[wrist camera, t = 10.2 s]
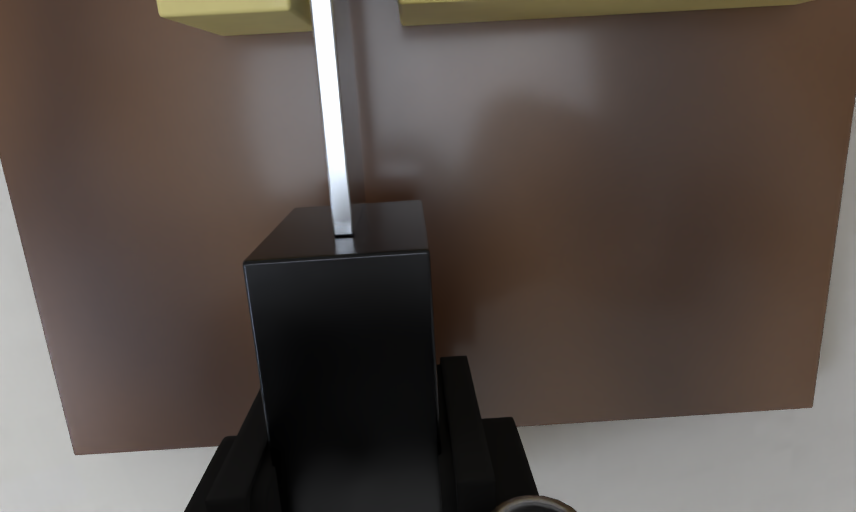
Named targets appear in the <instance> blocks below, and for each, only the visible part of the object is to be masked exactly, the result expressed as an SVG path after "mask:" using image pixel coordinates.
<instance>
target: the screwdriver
mask: <svg viewBox="0 0 856 512" xmlns="http://www.w3.org/2000/svg"><path fill="white" fill-rule="evenodd" d="M309 4H310V14H311V24H312V33H313V43H314V53H315V62H316V72H317V82H318V92H319V101H320V111H321V121H322V130H323V140H324V150H325V159H326V169H327V179H328V189H329V198H330V206H314V207H298V208H294V209H293V210H292V211H291V212H290V213H289V214H288V215H287V216H286V217H285V218H284V219H283V220H282V221H281V222H280V223H279V224H278V226H277V227H276V228H275V229H274V230H273V231H272V232H271V233H270V234H269V235H268V236H267V237H266V238H265V239H264V240H263V241H262V242H261V243H260V244H259V245H258V246H257V247H256V249H255V250H254V251H253V252H252V253H251V254H250V255H249V256H248V257H247V258H246V259H245V260H244V261H243V263H242V267H243V273H244V280H245V287H246V293H247V300H248V307H249V314H250V320H251V327H252V334H253V340H254V347H255V354H256V361H257V367H258V374H259V381H260V387H261V394H262V401H263V407H264V414H265V421H266V428H267V434H268V441H269V448H270V454H271V461H272V466H275V469H276V476H277V483H278V489H279V496H280V503H281V510H282V512H441V496H440V479H439V461H438V455H440V454H441V453H442V452H441V435H440V417H439V400H438V382H437V364H436V347H435V329H434V312H433V294H432V276H431V259H430V248H429V242H428V235H427V229H426V222H425V215H424V209H423V203H422V201H421V200H411V201H395V202H379V203H365V202H366V199H365V187H364V175H363V164H362V152H361V141H360V129H359V117H358V106H357V94H356V82H355V71H354V59H353V47H352V36H351V24H350V13H349V1H348V0H309Z"/></svg>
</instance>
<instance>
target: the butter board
mask: <svg viewBox="0 0 856 512" xmlns="http://www.w3.org/2000/svg"><path fill="white" fill-rule="evenodd" d="M348 1H349V13H350V24H351V36H352V47H353V59H354V71H355V82H356V94H357V106H358V117H359V129H360V141H361V152H362V164H363V175H364V187H365V199H366V202H365V203H379V202H395V201H411V200H421V201H422V203H423V209H424V215H425V222H426V229H427V235H428V242H429V248H430V259H431V276H432V294H433V312H434V329H435V347H436V364H440V357H450V356H465V355H467V358H468V363H469V367H470V371H471V376H472V380H473V384H474V389H475V393H476V397H477V402H478V406H479V410H480V415H481V419H484V418H499V417H513V419H514V421H515V424H516V427H521V426H536V425H552V424H567V423H583V422H598V421H614V420H629V419H645V418H660V417H676V416H691V415H707V414H722V413H738V412H753V411H769V410H784V409H800V408H812V407H813V400H814V393H815V386H816V379H817V371H818V364H819V357H820V350H821V342H822V335H823V328H824V321H825V313H826V306H827V299H828V292H829V285H830V277H831V270H832V263H833V256H834V248H835V241H836V234H837V227H838V219H839V212H840V205H841V198H842V190H843V183H844V176H845V169H846V161H847V154H848V147H849V140H850V133H851V125H852V118H853V111H854V104H855V96H856V0H813V1H809V2H804V3H800V4H796V5H779V6H761V7H743V8H725V9H706V10H688V11H670V12H652V13H633V14H615V15H597V16H579V17H561V18H542V19H524V20H506V21H488V22H469V23H451V24H433V25H415V26H403V25H402V24H401V22H400V15H399V8H398V0H348ZM0 159H1V163H2V167H3V171H4V175H5V179H6V183H7V187H8V191H9V195H10V199H11V203H12V207H13V211H14V215H15V219H16V223H17V227H18V231H19V235H20V239H21V243H22V247H23V251H24V255H25V259H26V263H27V267H28V271H29V275H30V279H31V283H32V287H33V291H34V295H35V299H36V303H37V307H38V311H39V315H40V319H41V323H42V327H43V331H44V335H45V339H46V343H47V347H48V351H49V355H50V359H51V363H52V367H53V371H54V375H55V379H56V383H57V387H58V391H59V395H60V399H61V403H62V407H63V411H64V415H65V419H66V423H67V427H68V431H69V435H70V439H71V443H72V447H73V451H74V454H75V455H87V454H102V453H118V452H133V451H149V450H164V449H180V448H195V447H211V446H219V445H220V443H221V441H222V440H223V439H224V437H227V436H236V435H237V434H238V432H239V430H240V428H241V426H242V424H243V422H244V420H245V418H246V416H247V414H248V412H249V410H250V408H251V406H252V404H253V402H254V400H255V398H256V396H257V394H258V392H259V390H260V381H259V374H258V367H257V361H256V354H255V347H254V340H253V334H252V327H251V320H250V314H249V307H248V300H247V293H246V287H245V280H244V273H243V267H242V263H243V261H244V260H245V259H246V258H247V257H248V256H249V255H250V254H251V253H252V252H253V251H254V250H255V249H256V247H257V246H258V245H259V244H260V243H261V242H262V241H263V240H264V239H265V238H266V237H267V236H268V235H269V234H270V233H271V232H272V231H273V230H274V229H275V228H276V227H277V226H278V224H279V223H280V222H281V221H282V220H283V219H284V218H285V217H286V216H287V215H288V214H289V213H290V212H291V211H292V210H293V209H294V208H298V207H314V206H330V198H329V189H328V179H327V169H326V159H325V150H324V140H323V130H322V121H321V111H320V101H319V92H318V82H317V72H316V62H315V53H314V43H313V33H312V31H306V32H287V33H269V34H251V35H233V36H221V35H218V34H214V33H211V32H208V31H205V30H201V29H198V28H195V27H192V26H188V25H185V24H182V23H179V22H175V21H172V20H169V19H166V18H163V17H160V15H159V13H158V7H157V1H156V0H0Z"/></svg>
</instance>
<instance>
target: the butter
mask: <svg viewBox="0 0 856 512" xmlns="http://www.w3.org/2000/svg"><path fill="white" fill-rule="evenodd" d="M809 1H813V0H398V8H399V15H400V22H401V24H402V25H403V26H415V25H433V24H451V23H469V22H488V21H506V20H524V19H542V18H561V17H579V16H597V15H615V14H633V13H652V12H670V11H688V10H706V9H725V8H743V7H761V6H779V5H796V4H800V3H804V2H809Z"/></svg>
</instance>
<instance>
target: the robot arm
mask: <svg viewBox="0 0 856 512" xmlns="http://www.w3.org/2000/svg"><path fill="white" fill-rule="evenodd" d="M437 382H438V400H439V417H440V435H441V452H442V453H441V454H440V455H438V461H439V479H440V496H441V512H576V511H575V510H574V509H573V508H572V507H571V506H569V505H567V504H565V503H563V502H561V501H559V500H556V499H553V498H549V497H546V496H539V494H538V491H537V488H536V485H535V482H534V479H533V476H532V473H531V470H530V467H529V463H528V460H527V457H526V454H525V451H524V448H523V445H522V442H521V439H520V436H519V433H518V430H517V427H516V424H515V421H514V419H513V417H499V418H484V419H481V415H480V410H479V406H478V402H477V397H476V393H475V389H474V384H473V380H472V376H471V371H470V367H469V363H468V358H467V355H465V356H450V357H440V364H437ZM184 512H282V510H281V503H280V496H279V489H278V483H277V476H276V469H275V466H272V461H271V454H270V448H269V441H268V434H267V428H266V421H265V414H264V407H263V401H262V394H261V387H260V390H259V392H258V394H257V396H256V398H255V400H254V402H253V404H252V406H251V408H250V410H249V412H248V414H247V416H246V418H245V420H244V422H243V424H242V426H241V428H240V430H239V432H238V434H237V435H236V436H227V437H224V439H223V440H222V441H221V443H220V445H219V447H218V449H217V450H216V452H215V454H214V456H213V458H212V460H211V462H210V464H209V466H208V467H207V469H206V471H205V473H204V475H203V477H202V479H201V481H200V483H199V484H198V486H197V488H196V490H195V492H194V494H193V496H192V498H191V500H190V502H189V503H188V505H187V507H186V509H185V511H184Z"/></svg>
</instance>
